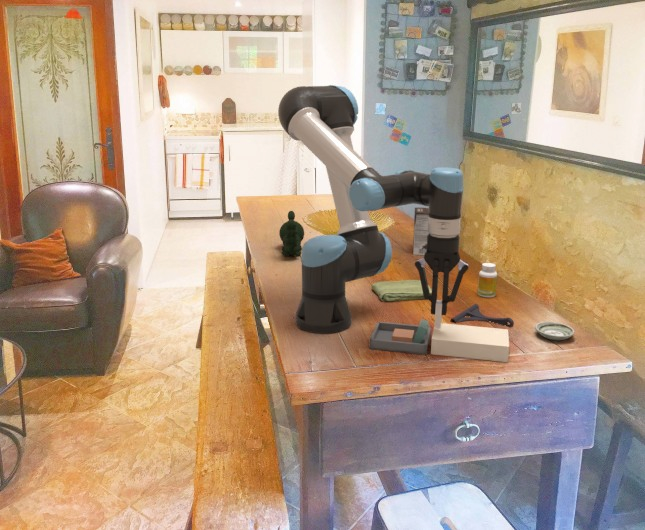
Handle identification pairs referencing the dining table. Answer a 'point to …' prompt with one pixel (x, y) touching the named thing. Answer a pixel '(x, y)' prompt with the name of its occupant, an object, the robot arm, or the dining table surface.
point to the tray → (383, 341)
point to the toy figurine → (291, 236)
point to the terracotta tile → (403, 335)
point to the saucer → (554, 330)
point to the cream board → (471, 342)
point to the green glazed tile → (420, 331)
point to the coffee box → (420, 231)
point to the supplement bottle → (487, 280)
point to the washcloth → (399, 290)
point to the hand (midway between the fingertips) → (437, 326)
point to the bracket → (479, 317)
